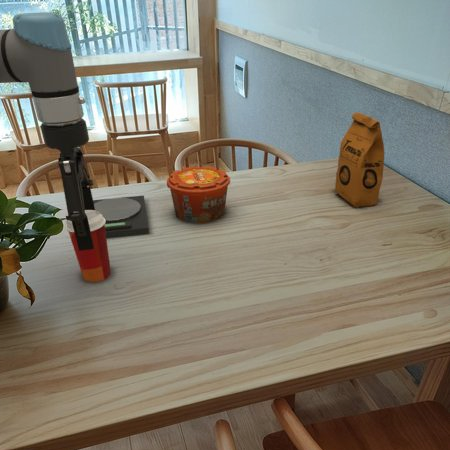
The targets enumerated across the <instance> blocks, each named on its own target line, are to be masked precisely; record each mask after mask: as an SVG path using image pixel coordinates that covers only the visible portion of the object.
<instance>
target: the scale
mask: <svg viewBox="0 0 450 450" xmlns="http://www.w3.org/2000/svg"><path fill="white" fill-rule="evenodd" d="M93 202H94V207H95V211H96V212H99V213H101V214H102V216H103V217H104V218H105V220H106V222H105V232H106V239H114V238H123V237H134V236H142V235H149V234H150V230H149V224H148V215H147V208H146V202H145V195H134V196H133V195H132V196H124V197H112V198H103V199H102V198H101V199H93Z"/></svg>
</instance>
